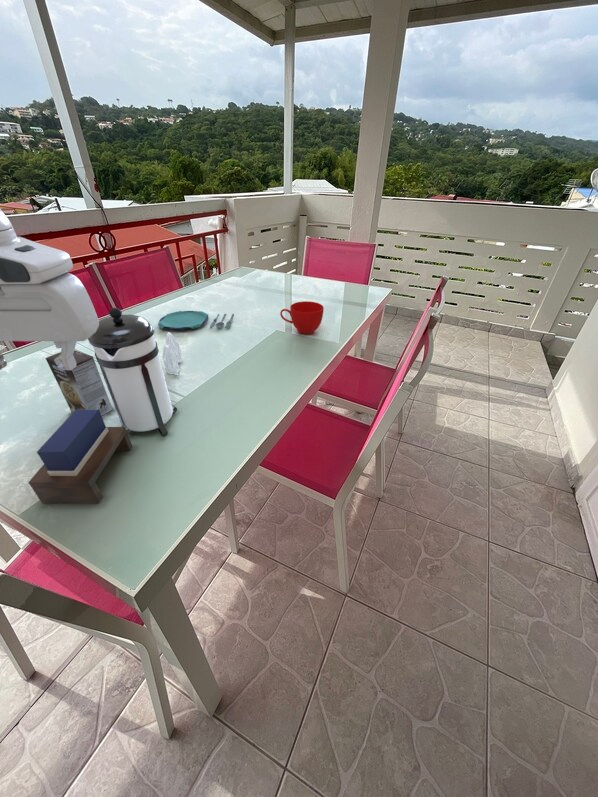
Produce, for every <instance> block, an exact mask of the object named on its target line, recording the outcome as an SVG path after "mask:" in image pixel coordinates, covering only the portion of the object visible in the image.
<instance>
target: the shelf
mask: <svg viewBox="0 0 598 797" xmlns="http://www.w3.org/2000/svg"><path fill="white" fill-rule="evenodd" d="M106 427H107V428H108V430H109V431H108V433H107V434H106V436H105V437H104V438H103V440H102V441H101V442H100V444H99V445H98V447H97V448H96V449H95V451H94V452H93V454H92V455H91V456H90V458H89V459H88V461H87V462H86V463H85V465H84V466H83V468H82V469H81V470H80V472H79V473H78V475H77V476H49V474H48V472H47V471H48V470H47V468H46V466H45V465H44V464H42V466H41V467H40V468H39V469H38V470H37V471H36V473H35V474H34V475H33V476H32V477H31V479H30V480H29V481H28V485H29V486H30V488H31V489H32V490H33V492H34V493H35V495H36V496H37V498H38V499H39V501H40V502H41V504H100V503H101V502H102V500H103V498H104V496H103V495H102V492H101V491H100V488H99V486H98V485H97V483H96V481H97V480H98V478H99V476H100V475H101V473H102V471H103V470H104V469H105V467H106V466H107V464H108V462H109V461H110V459H111V458H112V456H113V455H114V453H115V452H131V451H132V448H134V446H133V444H132V441H131V438H130V435H129V434H128V433H127V428H126V427H121V426H106Z"/></svg>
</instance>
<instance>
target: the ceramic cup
mask: <svg viewBox="0 0 598 797" xmlns="http://www.w3.org/2000/svg"><path fill="white" fill-rule="evenodd" d="M324 308H325V307H324V305H323V304H321V303H319V302H316V301H309V300H306V301H297V302H294V303H292V304H290V307H289V309H288V308H282V309H281V310H280V313H279V314H280V317H281V319H282V320H283V321H285V322H286V323H290V324H292V326H294V328H295V329H296V330H297V331H298V333H300V334H302V335H311V334H313V333H315V332H316V331H317V330H318V328H320V326H321V324H322V321H323V316H324V311H325V310H324ZM283 312H288V314H289V316H290V319H291V320H290V319H288V318H286V317H284V315H283Z"/></svg>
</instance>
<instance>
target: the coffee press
mask: <svg viewBox="0 0 598 797" xmlns="http://www.w3.org/2000/svg"><path fill="white" fill-rule="evenodd" d="M108 315H109V316H108V317H104V318H102V319H100V320H99V327H98V329H97V331H96V332H95V333H94V334H93V335H92V336H91V337H89V338H88V339H87V341H88V343H89V344H90V345H91V346H92V348H93V351H94V357H95V359H96V362H97V364H98V365H99V369H100V371H101V374H102V376H103V379H104V382H105V384H106V387H107V389H108V392H109V395H110V398H111V400H112V403H113V405H114V408H115V411H116V414H117V416H118V418H119V421H120V424H121V426H120V427H126V430H127V433H128V435H129V434H130V432H131V431H132V432H140V433H141V432H150V431H153V430H157V431H158V432H159V434H160V436H161V437H164V436H165V435H167V434H168V433H169V431H168V429H167V428H166V426H165V424H167V423H168V422H169V421H170V420H171V418H172V416H173V414H174V413H176V412H177V411H178V407H176V406H175V405H174V404H172V401H171V396H170V393H169V389H168V385H167V382H166V377H165V374H164V369H163V366H162V363H161V362H162V361H161V358H160V354H159V351H160V350H159V347H158V346H159V345H158V343H157V341H156V339H155V335H154V334H155V328H154V325H153V324H151V323H150V322H149V320H147V319H146V318H145V317H143V316H139V315H136V314H123V312H122V310H121V309H119V308H118V307H112V308H110V309H109V314H108Z"/></svg>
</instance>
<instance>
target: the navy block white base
mask: <svg viewBox="0 0 598 797" xmlns="http://www.w3.org/2000/svg"><path fill="white" fill-rule="evenodd" d="M107 427H108V426H106V423H105V421H104V419H103V415H102V416H101V414H100V412H99V410H75V411H74V412H72V413H71V414H70V415H69V416H68V417H67V418H66V420H65V421H64V422H63V423H62V424H61V425H60V426H59V427H58V428H57V429H56V430H55V431H54V432H53V434H51V436H50V437H49V438H47V440H46V441H45V442H44V443H43V444H42V446H41V447H40V448H39V449H38V450H37V451H36V454H37V455H38V457H39V458H40V460H41V462H42V463H43V465H45V466H46V468H47V470H48V471H47V472H48V474H49V476H77V475H78V473H79V472H80V470H81V469H82V468H83V466H84V465H85V463H86V462H87V461H88V459H89V458H90V456H91V455H92V454H93V452H94V451H95V449H96V448H97V447H98V445H99V444H100V442H101V441H102V440H103V438H104V437H105V436H106V434H107V433H108V431H109V430H108V428H107Z"/></svg>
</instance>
